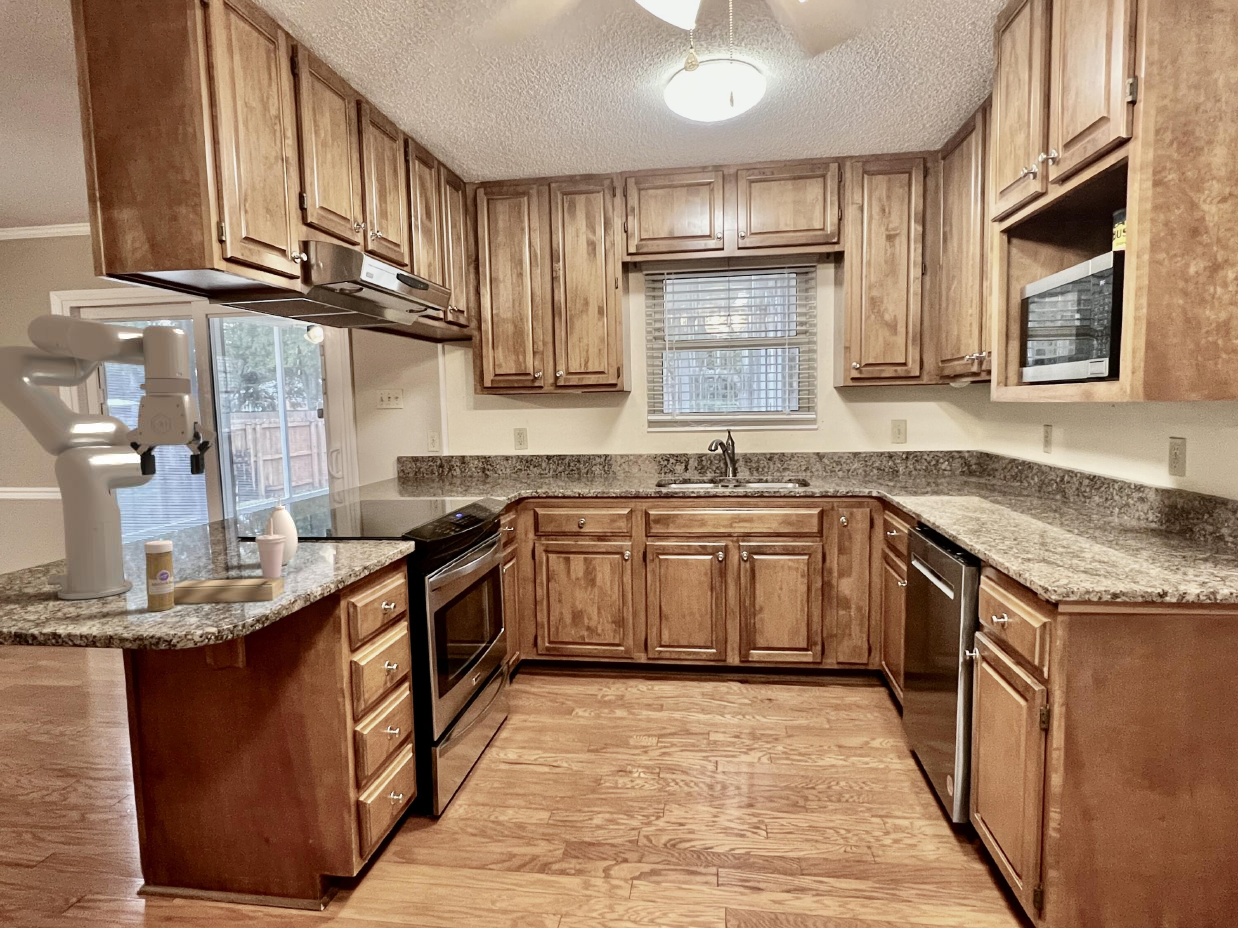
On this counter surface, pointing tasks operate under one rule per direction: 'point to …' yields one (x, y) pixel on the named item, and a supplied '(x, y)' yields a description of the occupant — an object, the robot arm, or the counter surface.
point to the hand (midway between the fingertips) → (173, 474)
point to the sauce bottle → (283, 531)
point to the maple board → (228, 590)
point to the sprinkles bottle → (159, 575)
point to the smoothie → (271, 553)
